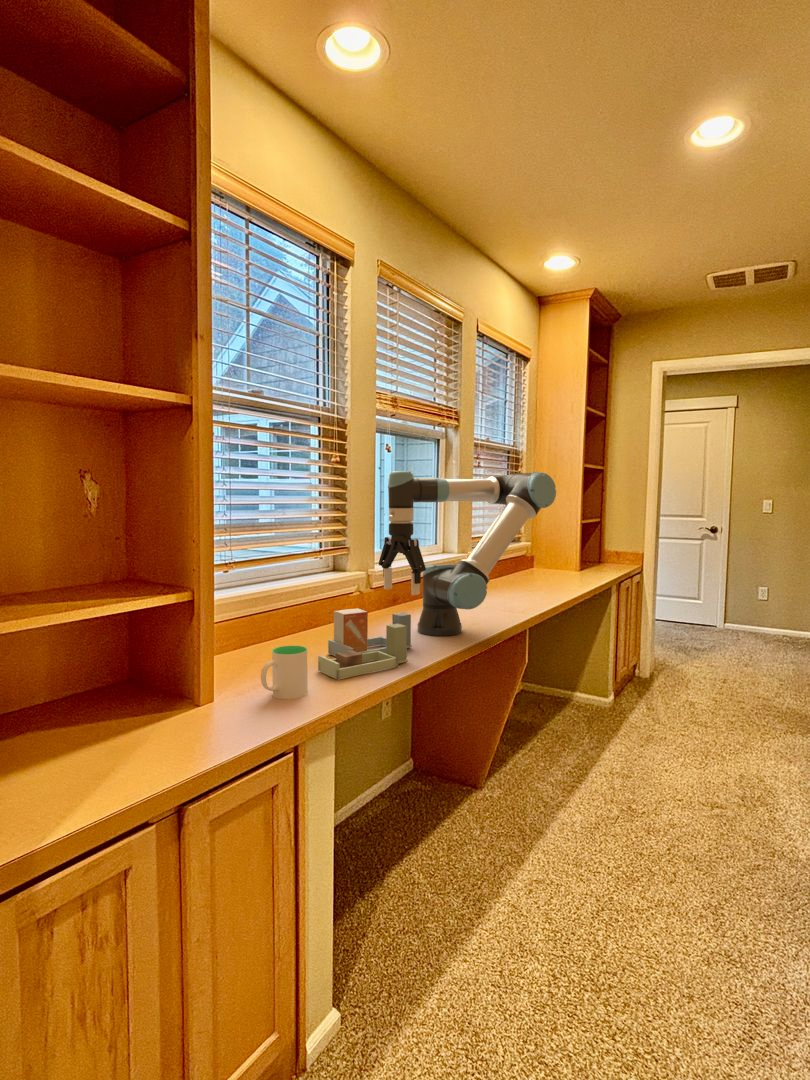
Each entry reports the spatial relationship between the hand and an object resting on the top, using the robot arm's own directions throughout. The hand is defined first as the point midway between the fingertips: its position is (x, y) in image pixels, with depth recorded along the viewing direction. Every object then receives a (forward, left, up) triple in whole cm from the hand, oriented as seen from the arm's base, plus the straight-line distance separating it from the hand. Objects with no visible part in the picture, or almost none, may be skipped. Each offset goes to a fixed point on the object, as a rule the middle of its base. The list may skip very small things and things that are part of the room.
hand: (401, 591), depth 183 cm
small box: (+18, -1, -17) cm, 25 cm away
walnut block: (+27, +13, -17) cm, 34 cm away
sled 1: (+11, +1, -17) cm, 20 cm away
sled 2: (+21, +13, -17) cm, 30 cm away
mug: (+49, +20, -17) cm, 56 cm away
